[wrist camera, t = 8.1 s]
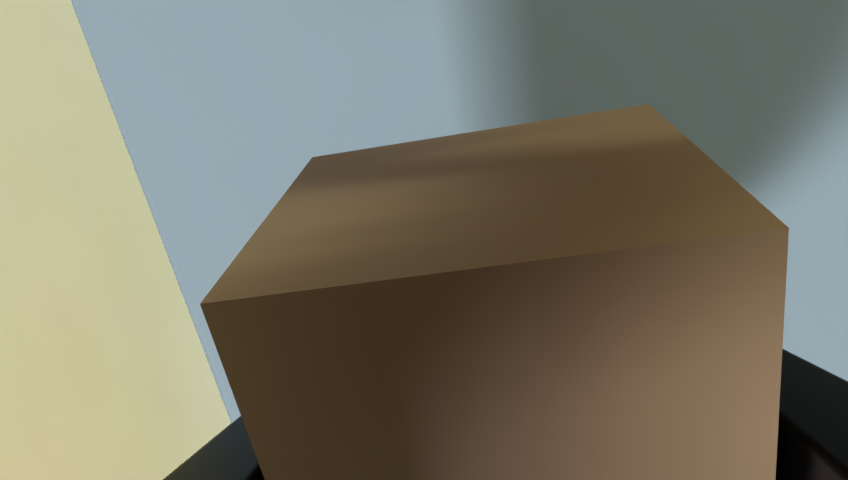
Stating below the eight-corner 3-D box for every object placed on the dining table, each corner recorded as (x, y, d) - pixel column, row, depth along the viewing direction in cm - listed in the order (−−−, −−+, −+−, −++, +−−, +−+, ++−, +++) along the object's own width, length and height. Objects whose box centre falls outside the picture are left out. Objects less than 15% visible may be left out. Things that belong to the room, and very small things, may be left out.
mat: (43, -143, 11) (14, -149, 11) (904, -351, 9) (940, -375, 9) (284, 517, 18) (276, 541, 17) (827, 474, 16) (843, 500, 15)
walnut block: (397, 483, 11) (360, 740, 8) (312, 157, 9) (199, 304, 5) (662, 461, 11) (761, 728, 7) (648, 103, 8) (787, 227, 5)
